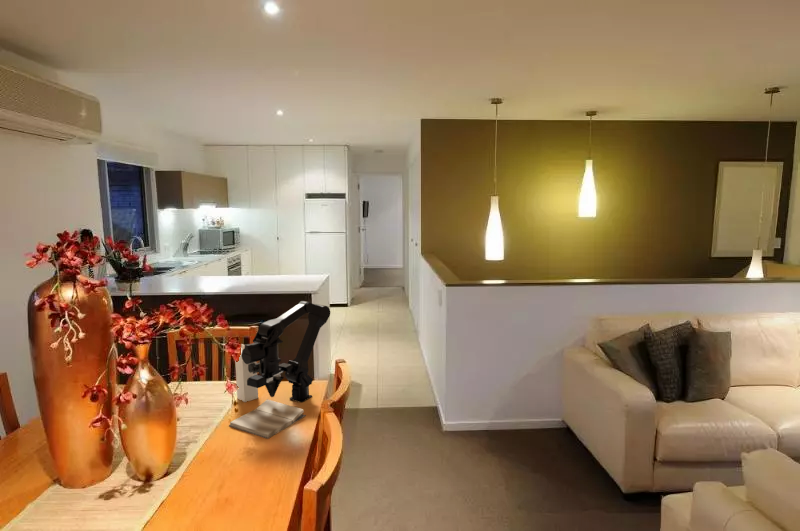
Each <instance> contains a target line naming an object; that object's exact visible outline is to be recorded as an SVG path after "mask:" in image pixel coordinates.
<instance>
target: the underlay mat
mask: <svg viewBox="0 0 800 531" xmlns="http://www.w3.org/2000/svg"><path fill="white" fill-rule="evenodd" d="M305 417H306V414H303V413H302V414H301V415H300V416H299V417H298V418H297V419H296V420H295V421H294V422H292V424H290V425H288V426H287V427H285V428H283V429H282V430H280V431H278V432H277V433H275V434H273V435H272V436H270V437H268V438H267V437H264V436H261V435H258V434H255V433H252V432H249V431H246V430H243V429H240V428H236V427H233V426H230V424H229V425H228V427H231V428H234V429H236V430H239V431H243V432H246V433H249V434H252V435H254V436H257V437H260V438H263V439H270V438H272V437H273V436H274V435H277V434H278V433H280V432H282V431H283V430H285V429H286V428H289V427H290V426H291V425H293V424H295V423H296V422H298V421H300V420H302V419H304V418H305Z"/></svg>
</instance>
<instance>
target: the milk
mask: <svg viewBox="0 0 800 531" xmlns="http://www.w3.org/2000/svg"><path fill="white" fill-rule="evenodd" d="M240 345H241V347H240V348H241V353H242V351H243V349H244V348H245V345H246V344H243V343H241V344H240ZM234 361H235V360H234ZM234 363H235V378H236V380H235V381H236V387H237V386H238V387H239V389H238V390H237V389H236V397H237V399H238V400H240V401H241V400H242V401H241V402H243V403H247V401H248V402H251V401H253V400H257V399H258V398H259V388H256V387H252V386H248V385H247V379H248V378H249V377H251V376H254V375H258V372H257V373H255V374H253V372H251V373H250V372H249V370H248V364H245V363H244V361H243V359H242V356H241V355H240V357H239V361H238V362H236V361H235V362H234ZM253 363H255V364H257V363H258V361H257V362H253ZM250 364H251V363H250Z"/></svg>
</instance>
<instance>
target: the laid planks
mask: <svg viewBox="0 0 800 531" xmlns="http://www.w3.org/2000/svg"><path fill="white" fill-rule="evenodd" d="M290 424H291V425H293V424H292V420H289V419H286V418H283V417H279V416H276V415H272V414H269V413H265V412H262V411H259V410H256V409H253V410H251V411H249V412H247V413H246V414H243V415H241V416H239V417H238V418H235V419H234V420H232V421H230V422H229V425H230V426H233V427H236V428H240V429H243V430H246V431H249V432H252V433H255V434H258V435H261V436H264V437H267V438H268V437H270V436H271V437H273V436H274V435H273V434H275V433H276V434H278V433H279V432H278V431H280V430H281V431H283V430H284V429H283V428H285V427H286V428H288V427H289V426H288V425H290ZM291 425H290V426H291ZM230 426H229V427H230ZM287 426H288V427H287ZM233 427H232V428H233ZM236 428H235V429H236ZM286 428H285V429H286ZM282 429H283V430H282ZM281 431H280V432H281ZM277 432H278V433H277ZM276 434H275V435H276ZM272 435H273V436H272ZM271 437H270V438H271ZM268 439H269V438H268Z"/></svg>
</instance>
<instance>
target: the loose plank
mask: <svg viewBox="0 0 800 531" xmlns="http://www.w3.org/2000/svg"><path fill="white" fill-rule="evenodd" d="M255 410H259V411H262V412H265V413H269V414H272V415H276V416H279V417H283V418H286V419H289V420H292V422H294V421H295V420H296V419H297V418H298V417H299V416H300V415H301V414H303V413H304V412H305V411H304V409H303V408H300V407H297V406H293V405H289V404H286V403H282V402H278V401H275V400H271V399H269V398H268V399H266V400H265V401H263V402H262V403H261V404H259V406H257V407H256V408H255Z"/></svg>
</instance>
